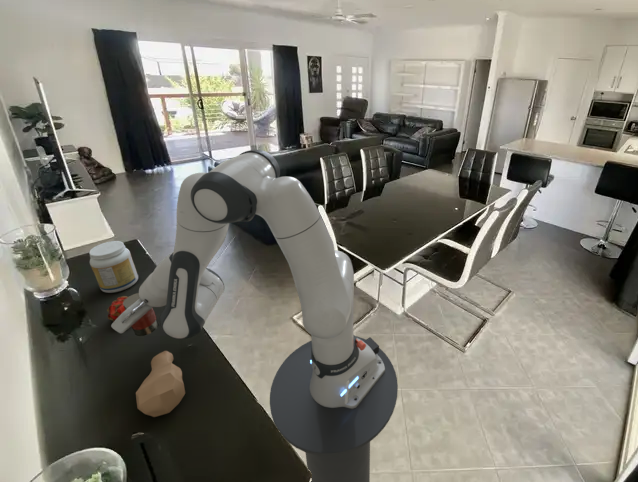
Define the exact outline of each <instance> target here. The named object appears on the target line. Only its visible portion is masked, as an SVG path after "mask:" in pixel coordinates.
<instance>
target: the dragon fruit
mask: <svg viewBox="0 0 638 482" xmlns="http://www.w3.org/2000/svg"><path fill="white" fill-rule="evenodd" d="M128 297H129V296H127V295H122V296H118V297H117V299H114V300H112V302H111V305H109V307H108V308H107V309H106V311H107V319H108V320H111V322H114V321H115V320H116V319H117V318H118V317H119V316H120V315H121V314H122V313H123V312H124V311H125V308H124V306H123V302H124V300H125V299H126V298H128Z"/></svg>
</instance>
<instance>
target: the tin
mask: <svg viewBox="0 0 638 482" xmlns="http://www.w3.org/2000/svg"><path fill="white" fill-rule="evenodd" d="M138 299H140V296H139V292H136V293H134V294H131V295H130V296H129V297H128V298H126V299H125V300H124V302H123V306H124V308H125V310H126V309H127V308H128V307H130V306H131V305H132V304H133V303H135V302H136V301H137V300H138ZM158 327H159V321H158V318H157V315H156V312H155V310H154V307H153V308H151V309H150V310H149V311H148V312H147V313H146V314H145V315H143V316H142V317H141V318H140V319H139V320H138V321H137V322H135V323H134V324H133V325H132V326H131V328H132V330H133V333H134V335H135V336H137V337H145V336H148V335H150V334H152V333H153V332H154V331H156V330H157V329H158Z"/></svg>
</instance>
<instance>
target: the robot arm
mask: <svg viewBox="0 0 638 482" xmlns="http://www.w3.org/2000/svg"><path fill="white" fill-rule="evenodd" d="M256 215H257V216H259V217H261V218H262V219H263V220H264V221H265V223H266V224H267V225H268V228H269V230H270V232H271V233H272V235H273V237H274V239H275V241H276V243H277V244H278V246H279V248H280V250H281V252H282V253H283V256H284V257H285V260H286V261H287V264H288V267H289V269H290V273H291V275H292V279H293V282H294V286H295V289H296V292H297V293H296V294H297V296H298V300H299V304H300V309H301V317H302V325H303V327H304V330H305V331H306V332H307V333H308V334H309V335H310V336H311V340H312V348H311V359H312V360H310V363H312V367H313V373H312V378H311V381H310V393H311V395H312V397H313V399H314V400H315V401H316V402H317V403H319V404H320V405H322V406H325V407H329V408H336V407H346V408H351V409H354V408H356V407H357V406H358V405H359V403H360V402H361V401H362V400H363V398H364V397H365V396H366V395H367V393H368V392H369V391H370V390H371V388H372V387H373V386H374V385H375V383H376V382H377V381H378V380H379V378H380V377H381V376H382V375H383V373H384V372H385V367H384V363H383V361H382V360H381V358H380V357H379V356H378V355H377V353H378V352H379V348H380V345H379V344H378V343H377V342H376V341H375V340H374V339H373V338H372V336H371V337H370V336H369V337H367V338H366V340H365V341H362V340H360V339H358V338H356V337H355V336H356V335H354V313H355V312H354V310H355V309H354V308H355V307H354V305H355V304H354V303H355V302H354V301H355V295H354V294H355V272H354V267H353V263H352V260H351V258H350V256H349V255H348V254H347V253H344V252H343V251H342V250H341V251H340V250H337V249H335V245H334V240H333V238H332V237H331V234H330V233H329V230H328V228H327V225H326V223H325V221H324V220H323V217H322V215H321V213H320V210H319V209H318V207H317V205H316V203H315V201H314V200H313V198H312V197H311V195H310V193H309V191H307V189H306V187H305V186H304V185H303V183H302V182H301V181H300V180H299V179H297V178H296V177H293V176H286V175H285V176H281V169H280V165H279V163H278V161H277V159H276V158H275V157H274V156H273V155H272V154H271V153H269V152H268V151H266V150H263V149H250V150H245V151H243V152H241V153H240V154H238V155H236V156H234V157H232V158H230V159H227V160H224V161H222V162H221V163H219V164H218V165H216V166H214V168H212V169H211V170H210V171H209V172H195V173H193V174H189V175H188V176H186V177H185V178H184V179H183V180H182V182H181V184H180V187H179V191H178V196H177V202H176V225H175V226H176V227H175V228H176V230H175V239H174V247H173V252H171V253H169V254H168V255H167V256H165V257H164V258H163V259H162V260H160V262H159V263H158V264H157V265H156V267H155V268H154V270H153V272H151V273H150V274H149V275H148V276H147V277H146V278H145V279H144V281H143V282H142V283H141V284H140V285H139V289H138V293H139V296H140V299H138V300H137V301H136V302H135V303H133V304H132V305H131V306H130V307H128V308H127V309H126V310H125V311H124V312H123V313H122V314H121V315H120V316H119V317H118V318H117V319H116V320H115V321H112V323H111V325H110V327H111V328H112V329H113V330H114V331H115V332H117V333H118V334H124V333H126V332H127V331H128V330H129V329H130V328H132V325H133V324H134V323H135V322H137V321H138V320H139V319H140V318H141V317H142V316H143V315H145V314H146V313H147V312H148V311H149V310H150V309H151V308H153V309H154V308H162V307H165V308H164V309H163V311H162V312H161V314H160V315H159V324H160V327H161V329H162V331H163V333H164V334H165V335H166V336H167V337H170V338H171V339H175V340H185V339H190V338H193V337H195V336H197V335H199V334H200V333H201V331H202V329H203V328H204V325H205V324H206V321H207V319H208V318H209V316H210V315H211V313H212V311H213V310H214V309H215V307H216V305H217V303H218V302H219V300H220V298H221V297H222V295H223V293H224V291H225V283H224V281H223V278H221V276H220V275H219V274H218V273H217V272H215V271H214V270H212V269H210V268H209V267H208V266H209V265H210V263H211V261H212V260H213V259H214V257H215V256H216V254H217V253H218V252H219V250H220V249H221V248H222V246H223V244H224V242H225V240H226V238H227V235H228V232H229V228H230V224H232V223H237V222H240V223H241V222H243V223H248V222H251V221H252V220H253V219H254V217H255V216H256ZM379 363H381V364H379ZM355 399H357V400H356V401H355Z"/></svg>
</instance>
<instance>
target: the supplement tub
mask: <svg viewBox="0 0 638 482" xmlns="http://www.w3.org/2000/svg"><path fill="white" fill-rule="evenodd" d="M89 265H90V268H91V270H92V272H93V275H94V277H95V279H96V281H97V282H96V283H97V284H98V287H99V289H100V290H101V291H102V292H103V293H107V294H113V293H114V294H115V293H119V292H122V291H125V290H128V289H130V288H131V287H133V286H134V285H135V284H136V283H137V282H138V280H139V274H138V271H137V269H136V265H135V263H134V260H133V257H132V254H131V251H130V250H129V248H127V247H126V245H125V244H124V242H123V241H120V240H111V241H106V242H103V243H99V244H98V245H95V246H94V247H92V248H91V249H90V250H89Z"/></svg>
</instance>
